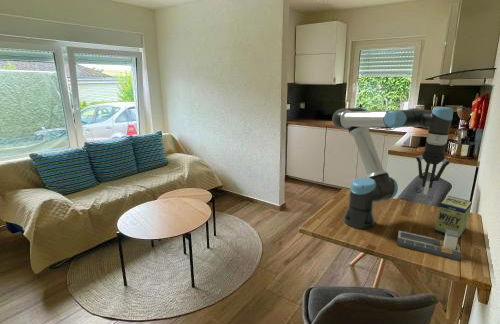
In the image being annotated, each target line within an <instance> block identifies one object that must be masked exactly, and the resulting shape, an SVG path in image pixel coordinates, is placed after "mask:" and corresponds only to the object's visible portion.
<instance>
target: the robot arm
mask: <svg viewBox="0 0 500 324" xmlns="http://www.w3.org/2000/svg"><path fill="white" fill-rule="evenodd" d="M453 115H454V109H453V108H452V107H448V106H434V107H433V108H432V110H428V109H421V108H417V107H416V108H413V107H412V108H411V107H410V108H408V109H392V110H388V109H386V110H368V109H366V108H363V107H351V108H348V107H346V108H340V109H338V110H336V111H335V112H334V113H333V115H332V119H331V121H332V124H333V126H334V127H335V128H337V129H340V130H347V131H348V133H349V135H351V136H352V137H353V139H354V141H355V144H356V147H357V150H358V152H359V155H360V158H361V162H362V165H363V167H364V170H365V173H366V177H356V178H354V179H353V180H352V181H351V183H350V184H351V185H350V187H349V201H348V207H347V209H346V211H345V213H344V215H343V222H344V223H345V224H346V225H347V226H350V227H353V228H355V229H359V230H362V229H363V230H367V229H368V230H369V229H372V228H373V227H375V226H374V225H375V217H374V214H373V207H374V204H375V203H379V202H383V201H388V200H391V199H393V198H394V197H396V196H397V193H398V189H399V185H398V182H397V180H395V178H393V177H391V176H390V175H389V173H388V171H385V170H384V168H383V165H382V163H381V159H380V156H379V154H378V152H377V150H376V147H375V144H374V141H373V139H372V135H371V132H370V128H373V127H374V128H390V129H392V128H393V129H398V128H409V127H419V128H420V127H421V128H428V131H427V136H426V143H425V146H424V150H423V153H422V154H421V155H417V156H416V158H415V160H416V162H417V164H418V165H417V167H418V168H417V169H418V178H419V179H421V180H422V183H421V184H422V185H421V187H422V188H423V187H424V188H423V192H422V194H423V195H426V196H428V192H429V189H432V187H433V184H434V182H438V181H439V180H440V177H441V176H442V174H443V173H444V170H445V169H446V167H447V166H448V165H450V160H448V159H447V158H445V157H446V156H445V152H446V147H447V143H448V139H449V132H450V129H451V126H452V121H453ZM423 160H424V162H425V163H426V165H425V168H424V169H425V170H424V174H423V166H422V165H423V164H422V161H423ZM441 162H442V164H441V166H440V168H439V170H438V171H436V170H437V166H438V165H439V164H440V163H441ZM431 165H432V169H431V174H430V178H429V179H428V174H429V172H430V171H429V170H430V166H431ZM436 172H437V173H436Z"/></svg>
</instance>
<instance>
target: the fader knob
mask: <svg viewBox="0 0 500 324" xmlns="http://www.w3.org/2000/svg"><path fill="white" fill-rule="evenodd" d="M458 238H459V235H458V232H457V231H453V230H448V229H446V233H445V235H444V238H443V240H444V247H445V248H449V249H453V250H455V249H456V245H457V243H458ZM459 239H460V238H459Z"/></svg>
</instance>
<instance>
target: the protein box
mask: <svg viewBox="0 0 500 324" xmlns="http://www.w3.org/2000/svg"><path fill="white" fill-rule="evenodd" d="M472 205H473V201H471V200H467V199H464V198H460V197H455V196H451V195H447V196H446V197H445V198H444V200H442V201H441V202H440V204H439V207H438V213H437V218H436V222H435V227H434V233H437V234H440V235H443V236H445V233H446V229H448V230H453V231H457V232H458V235H459V238H458V240H460V238H461V237H462V235H463V234H464V232H465V231H466V229H467V224H468V221H469V217H470V212H471V208H472ZM458 240H457V241H458Z"/></svg>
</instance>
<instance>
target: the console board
mask: <svg viewBox="0 0 500 324" xmlns="http://www.w3.org/2000/svg"><path fill="white" fill-rule="evenodd" d="M396 246H398V247H402V248H407V249H411V250H414V251H419V252H422V253H427V254H431V255H435V256H439V257H443V258H448V259H451V260H455V261H459V262H460V261H461V259H462V256H461V255H462V254H461V253H462V252H461V248H460V245H459V243H458V242H457V245H456V249H455V250H453V249H449V248H445V247H444V239H440V238H436V237H431V236H427V235H424V234H423V235H422V234H417V233H414V232H409V231H405V230H404V231H403V230H400V229H399V230H398V231H397V241H396Z"/></svg>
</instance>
